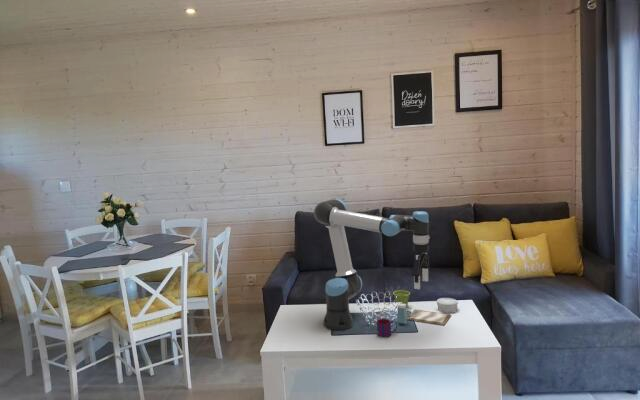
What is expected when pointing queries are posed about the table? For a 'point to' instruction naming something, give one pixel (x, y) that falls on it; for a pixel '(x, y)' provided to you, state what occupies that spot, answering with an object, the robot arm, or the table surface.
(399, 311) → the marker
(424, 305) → the table surface
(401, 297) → the plant pot
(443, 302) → the ramekin
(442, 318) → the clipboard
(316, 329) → the table surface
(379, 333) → the mug
